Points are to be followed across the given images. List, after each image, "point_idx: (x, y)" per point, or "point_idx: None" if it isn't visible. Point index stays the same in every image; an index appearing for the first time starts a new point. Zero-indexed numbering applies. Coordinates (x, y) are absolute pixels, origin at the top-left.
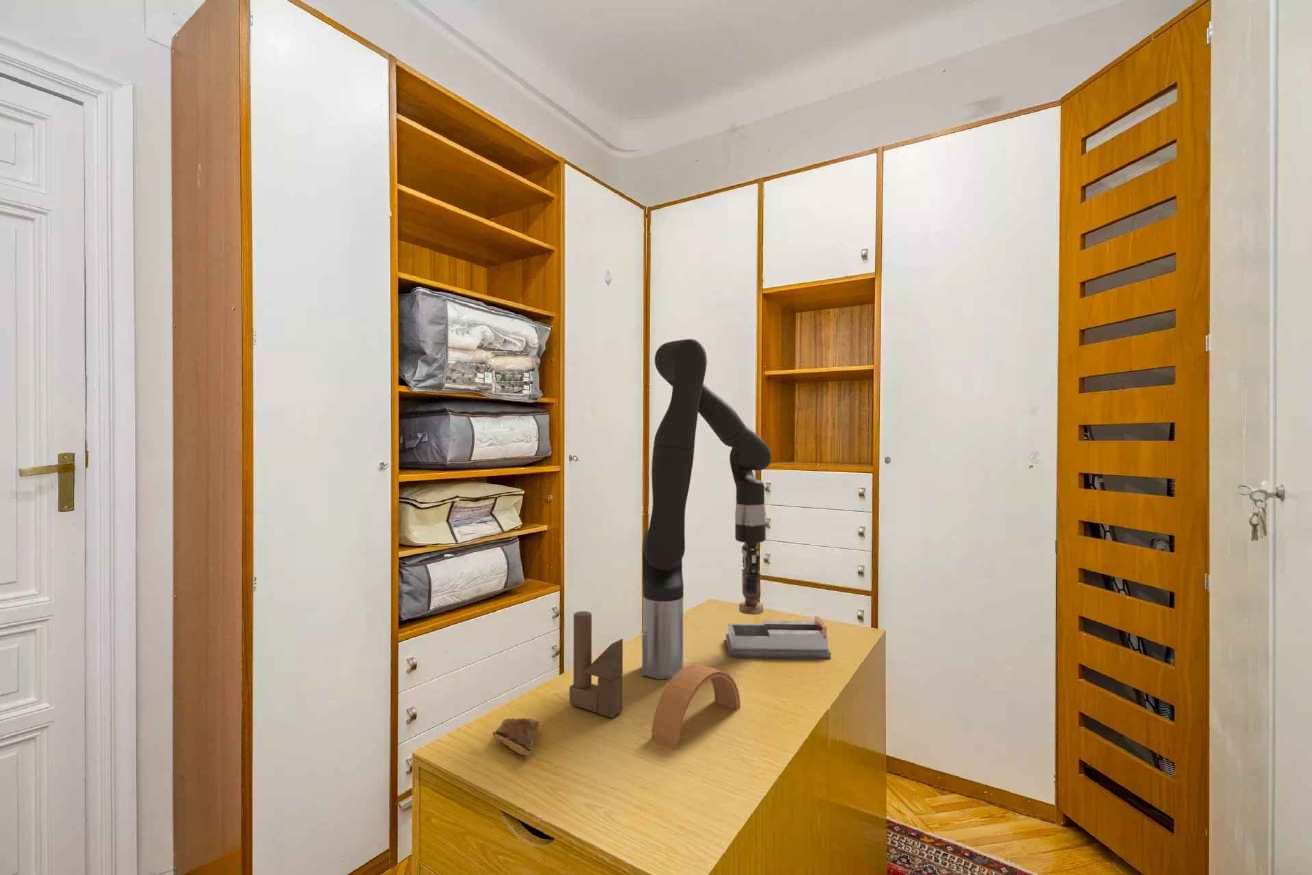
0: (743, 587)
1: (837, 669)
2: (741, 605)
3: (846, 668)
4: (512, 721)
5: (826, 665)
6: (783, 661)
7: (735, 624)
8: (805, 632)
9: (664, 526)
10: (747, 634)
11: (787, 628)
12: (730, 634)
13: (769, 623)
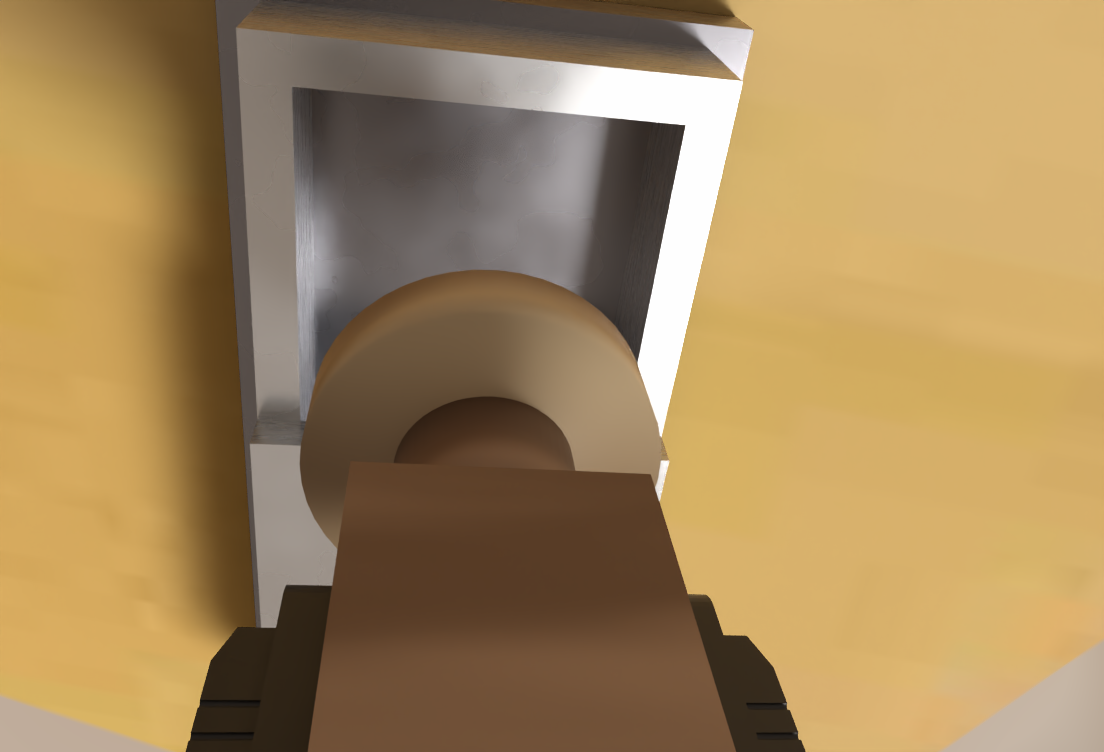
0: (444, 576)
1: (89, 670)
2: (462, 339)
3: (117, 711)
4: None
5: (149, 633)
6: (185, 406)
7: (695, 166)
8: None
9: None
10: (632, 248)
11: None
12: (419, 40)
13: None
